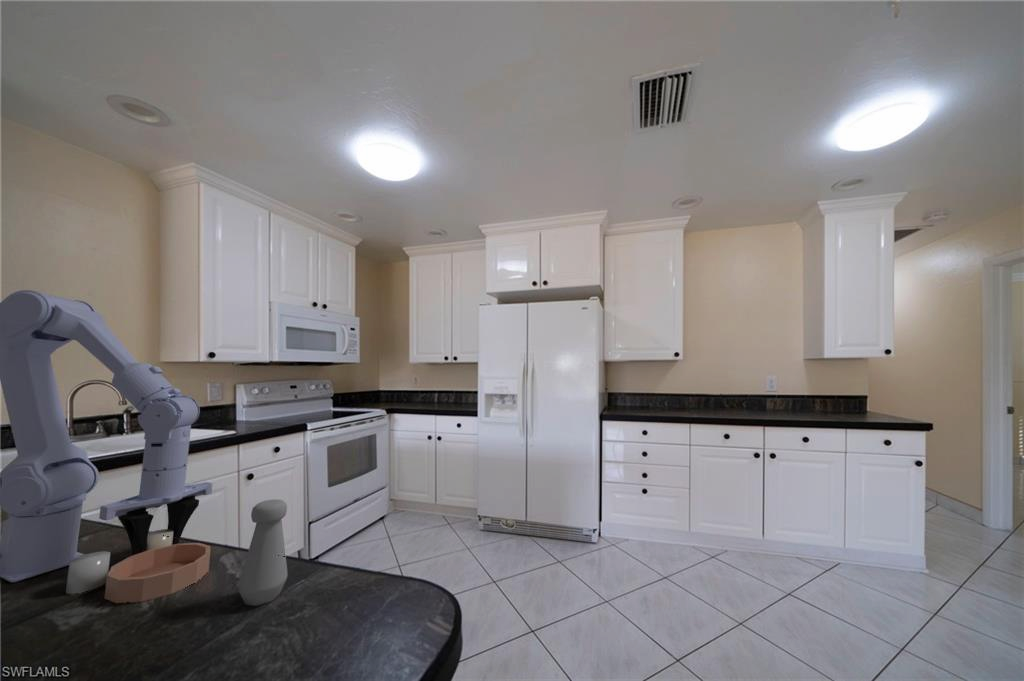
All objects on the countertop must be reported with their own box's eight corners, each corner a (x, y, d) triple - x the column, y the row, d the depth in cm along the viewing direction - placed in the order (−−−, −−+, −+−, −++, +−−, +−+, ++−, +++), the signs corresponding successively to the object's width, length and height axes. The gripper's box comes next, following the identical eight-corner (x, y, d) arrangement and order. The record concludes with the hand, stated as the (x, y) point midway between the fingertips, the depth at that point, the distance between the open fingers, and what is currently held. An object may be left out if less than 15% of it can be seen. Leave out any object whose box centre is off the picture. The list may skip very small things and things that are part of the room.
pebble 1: (59, 590, 53) (63, 561, 53) (98, 576, 57) (102, 549, 57) (73, 597, 52) (77, 566, 52) (112, 582, 55) (116, 554, 56)
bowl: (89, 591, 53) (91, 569, 53) (181, 556, 63) (183, 538, 64) (133, 610, 49) (136, 586, 49) (224, 570, 59) (226, 550, 60)
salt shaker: (261, 613, 49) (269, 510, 50) (225, 606, 50) (234, 507, 51) (295, 588, 55) (302, 497, 56) (262, 583, 56) (269, 494, 57)
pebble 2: (132, 561, 61) (135, 536, 62) (162, 551, 65) (165, 527, 66) (146, 566, 60) (149, 540, 60) (176, 555, 64) (178, 531, 64)
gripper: (121, 480, 56) (110, 575, 55) (225, 461, 69) (218, 536, 68) (97, 475, 58) (85, 565, 57) (201, 457, 72) (194, 530, 70)
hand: (155, 549), depth 63 cm, fingers closed on pebble 2, 4 cm apart
